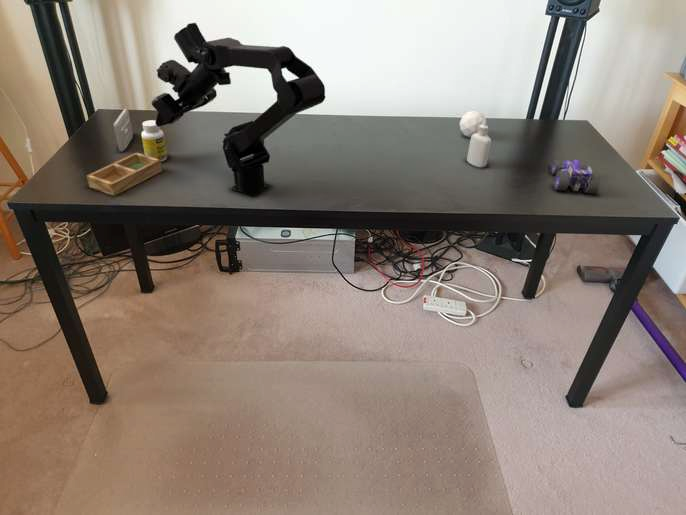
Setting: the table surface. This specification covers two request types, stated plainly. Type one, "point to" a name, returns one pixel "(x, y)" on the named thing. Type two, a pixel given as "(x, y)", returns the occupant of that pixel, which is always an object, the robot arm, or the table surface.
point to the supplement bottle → (153, 141)
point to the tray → (124, 173)
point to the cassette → (123, 130)
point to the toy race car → (574, 176)
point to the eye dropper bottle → (479, 147)
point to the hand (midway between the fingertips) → (168, 118)
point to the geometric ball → (471, 123)
